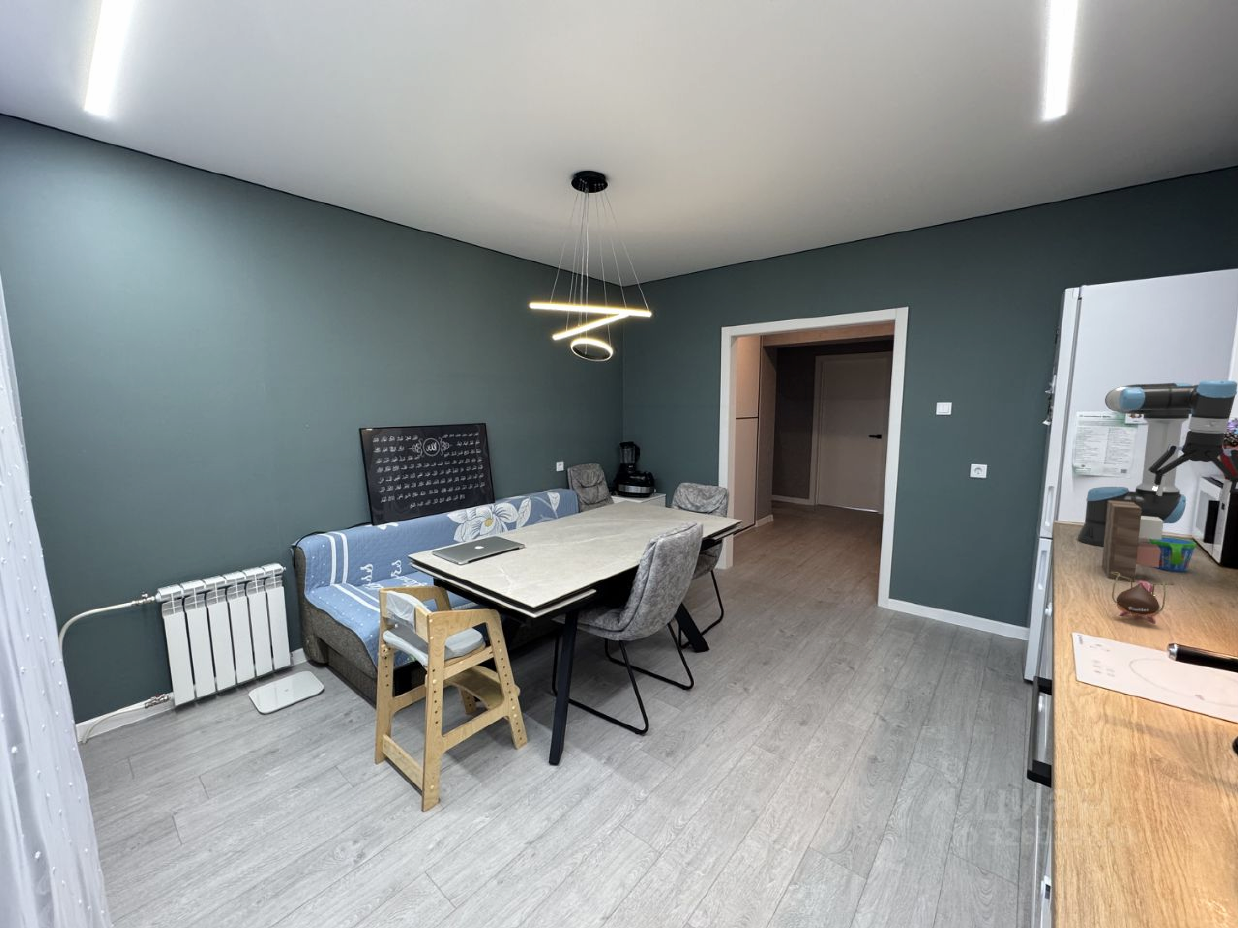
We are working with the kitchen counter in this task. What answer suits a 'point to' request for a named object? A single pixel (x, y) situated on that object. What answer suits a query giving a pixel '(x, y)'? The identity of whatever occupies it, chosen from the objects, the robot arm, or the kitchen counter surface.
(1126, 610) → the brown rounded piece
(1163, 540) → the snack cup
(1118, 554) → the key panel
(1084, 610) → the kitchen counter surface
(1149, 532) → the white key
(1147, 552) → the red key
